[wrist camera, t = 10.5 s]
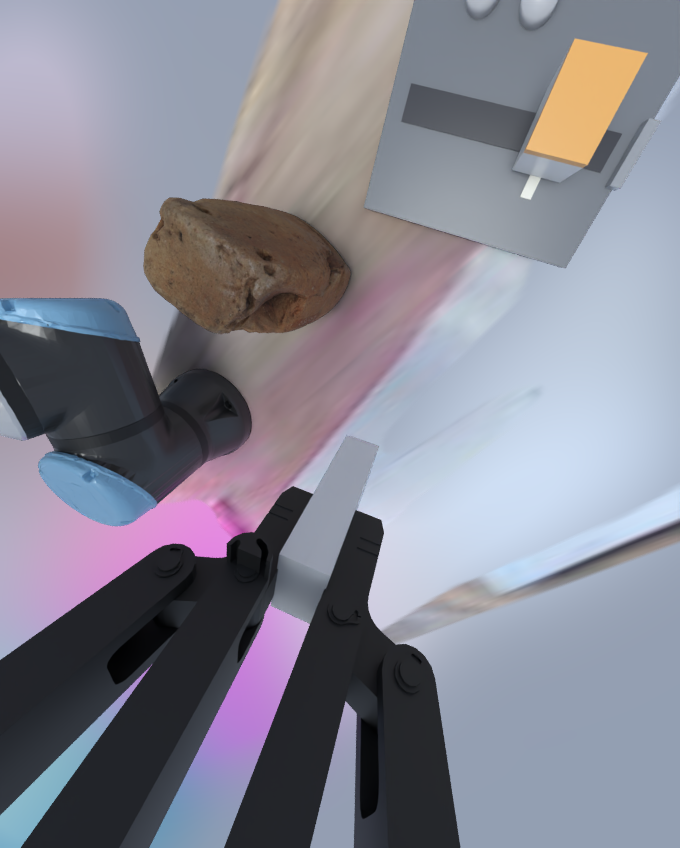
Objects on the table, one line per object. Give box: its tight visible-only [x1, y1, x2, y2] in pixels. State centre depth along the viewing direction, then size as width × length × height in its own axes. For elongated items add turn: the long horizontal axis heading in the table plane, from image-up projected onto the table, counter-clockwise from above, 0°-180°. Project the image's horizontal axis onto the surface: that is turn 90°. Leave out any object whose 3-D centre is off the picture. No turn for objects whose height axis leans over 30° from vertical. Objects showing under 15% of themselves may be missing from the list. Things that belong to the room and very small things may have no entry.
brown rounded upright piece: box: [143, 198, 351, 334], centre depth 30 cm, size 11×8×20 cm
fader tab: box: [512, 38, 648, 183], centre depth 22 cm, size 4×5×7 cm
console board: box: [364, 0, 680, 268], centre depth 26 cm, size 20×16×4 cm
